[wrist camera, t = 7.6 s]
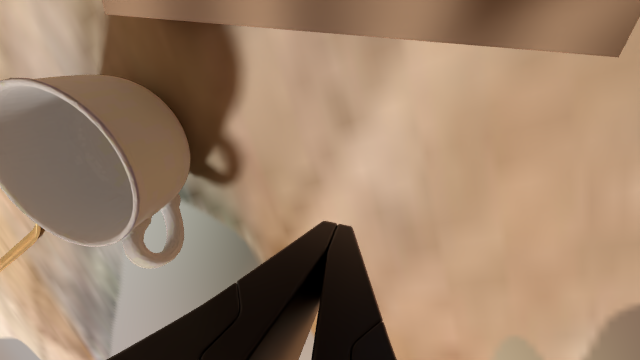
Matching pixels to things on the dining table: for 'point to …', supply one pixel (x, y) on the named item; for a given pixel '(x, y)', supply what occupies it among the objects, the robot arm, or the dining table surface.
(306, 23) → the walnut block
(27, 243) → the gold ring
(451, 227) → the dining table surface
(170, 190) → the teacup
